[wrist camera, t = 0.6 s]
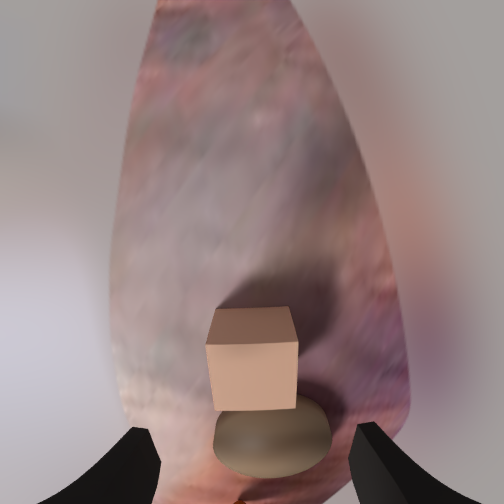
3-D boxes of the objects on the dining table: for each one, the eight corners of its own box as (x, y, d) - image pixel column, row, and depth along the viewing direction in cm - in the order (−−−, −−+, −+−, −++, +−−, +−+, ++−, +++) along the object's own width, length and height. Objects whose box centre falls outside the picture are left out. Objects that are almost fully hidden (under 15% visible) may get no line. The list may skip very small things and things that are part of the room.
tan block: (287, 365, 17) (295, 408, 13) (221, 367, 17) (214, 410, 13) (288, 305, 16) (298, 341, 12) (215, 308, 16) (205, 344, 13)
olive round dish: (321, 455, 20) (325, 473, 18) (222, 460, 20) (220, 478, 18) (332, 384, 18) (339, 403, 16) (209, 389, 18) (205, 409, 16)
